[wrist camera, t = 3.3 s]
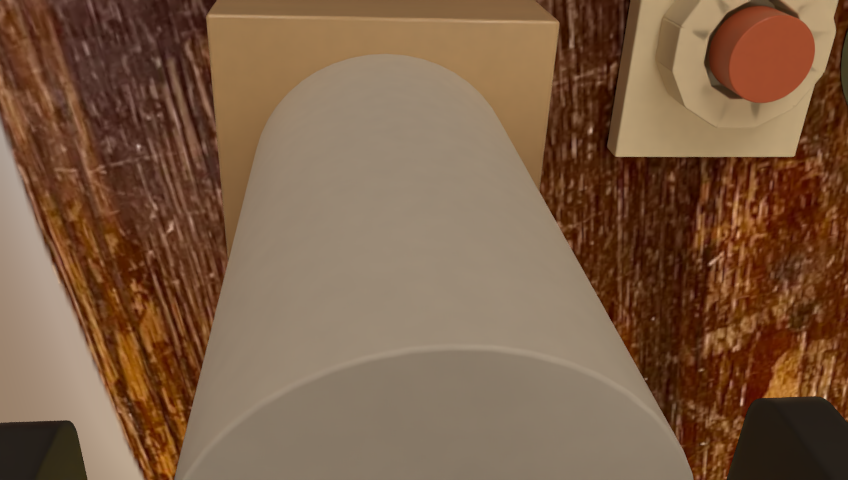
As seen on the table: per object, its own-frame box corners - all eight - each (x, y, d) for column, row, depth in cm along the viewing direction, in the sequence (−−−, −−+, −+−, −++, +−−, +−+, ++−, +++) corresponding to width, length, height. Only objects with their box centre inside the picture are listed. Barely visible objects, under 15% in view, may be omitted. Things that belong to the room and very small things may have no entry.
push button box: (646, -105, 29) (677, -98, 26) (847, -98, 30) (897, -90, 27) (606, 147, 33) (629, 174, 31) (780, 147, 34) (817, 174, 32)
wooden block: (266, -74, 28) (205, 14, 15) (458, -68, 29) (560, 20, 16) (276, 111, 31) (232, 319, 18) (447, 112, 32) (525, 312, 19)
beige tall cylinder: (244, 51, 15) (85, 438, 6) (523, 55, 16) (815, 410, 6) (261, 292, 18) (173, 841, 8) (499, 288, 18) (679, 795, 9)
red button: (718, 4, 28) (740, 14, 27) (800, 6, 29) (826, 15, 27) (700, 88, 30) (720, 103, 28) (778, 89, 30) (802, 103, 29)
